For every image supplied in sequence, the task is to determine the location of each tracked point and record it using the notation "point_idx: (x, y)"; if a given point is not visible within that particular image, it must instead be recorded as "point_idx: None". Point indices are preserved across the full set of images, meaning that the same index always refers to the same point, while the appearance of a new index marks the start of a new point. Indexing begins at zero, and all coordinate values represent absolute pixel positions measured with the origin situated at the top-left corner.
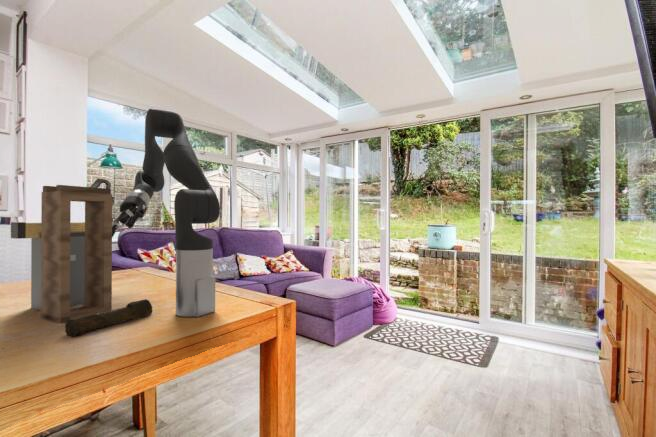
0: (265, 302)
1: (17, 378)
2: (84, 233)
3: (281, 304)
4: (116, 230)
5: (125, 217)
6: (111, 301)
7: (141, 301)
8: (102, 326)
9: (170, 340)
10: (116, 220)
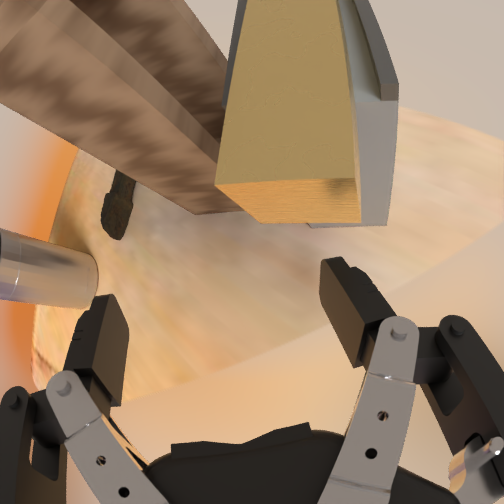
0: (46, 368)
1: None
2: (228, 85)
3: (33, 362)
4: (363, 382)
5: (198, 445)
6: (184, 208)
7: (102, 211)
8: None
9: (62, 193)
10: (356, 411)
